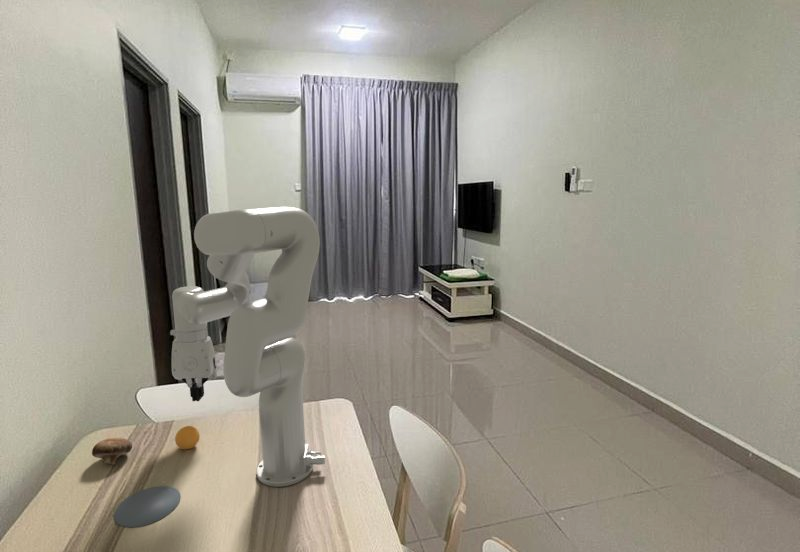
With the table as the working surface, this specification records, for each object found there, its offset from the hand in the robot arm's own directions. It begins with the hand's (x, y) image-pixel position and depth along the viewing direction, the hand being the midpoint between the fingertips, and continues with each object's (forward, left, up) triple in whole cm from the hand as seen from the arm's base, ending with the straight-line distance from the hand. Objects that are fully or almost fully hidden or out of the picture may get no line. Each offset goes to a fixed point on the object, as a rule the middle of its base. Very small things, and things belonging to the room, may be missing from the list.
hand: (197, 398), depth 122 cm
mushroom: (+15, +14, -9) cm, 23 cm away
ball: (-1, +10, -6) cm, 11 cm away
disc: (-1, +31, -8) cm, 32 cm away
